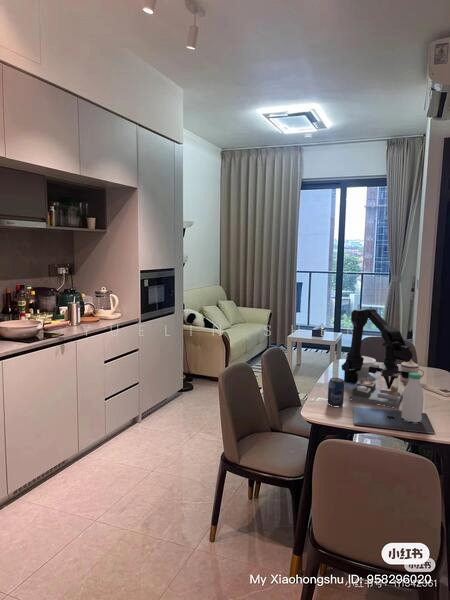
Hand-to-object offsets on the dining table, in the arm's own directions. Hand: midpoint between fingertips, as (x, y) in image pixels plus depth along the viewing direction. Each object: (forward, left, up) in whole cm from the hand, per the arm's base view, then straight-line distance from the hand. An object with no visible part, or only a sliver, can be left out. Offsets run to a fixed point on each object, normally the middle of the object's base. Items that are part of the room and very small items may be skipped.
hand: (388, 389), depth 204 cm
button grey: (-11, -5, -2) cm, 13 cm away
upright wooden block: (+2, 0, -3) cm, 4 cm away
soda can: (-19, -21, -5) cm, 29 cm away
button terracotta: (-11, +6, -3) cm, 13 cm away
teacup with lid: (+6, +39, -5) cm, 39 cm away
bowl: (-21, +38, -5) cm, 44 cm away
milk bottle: (+13, -21, -5) cm, 25 cm away
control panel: (-5, 0, -5) cm, 7 cm away
